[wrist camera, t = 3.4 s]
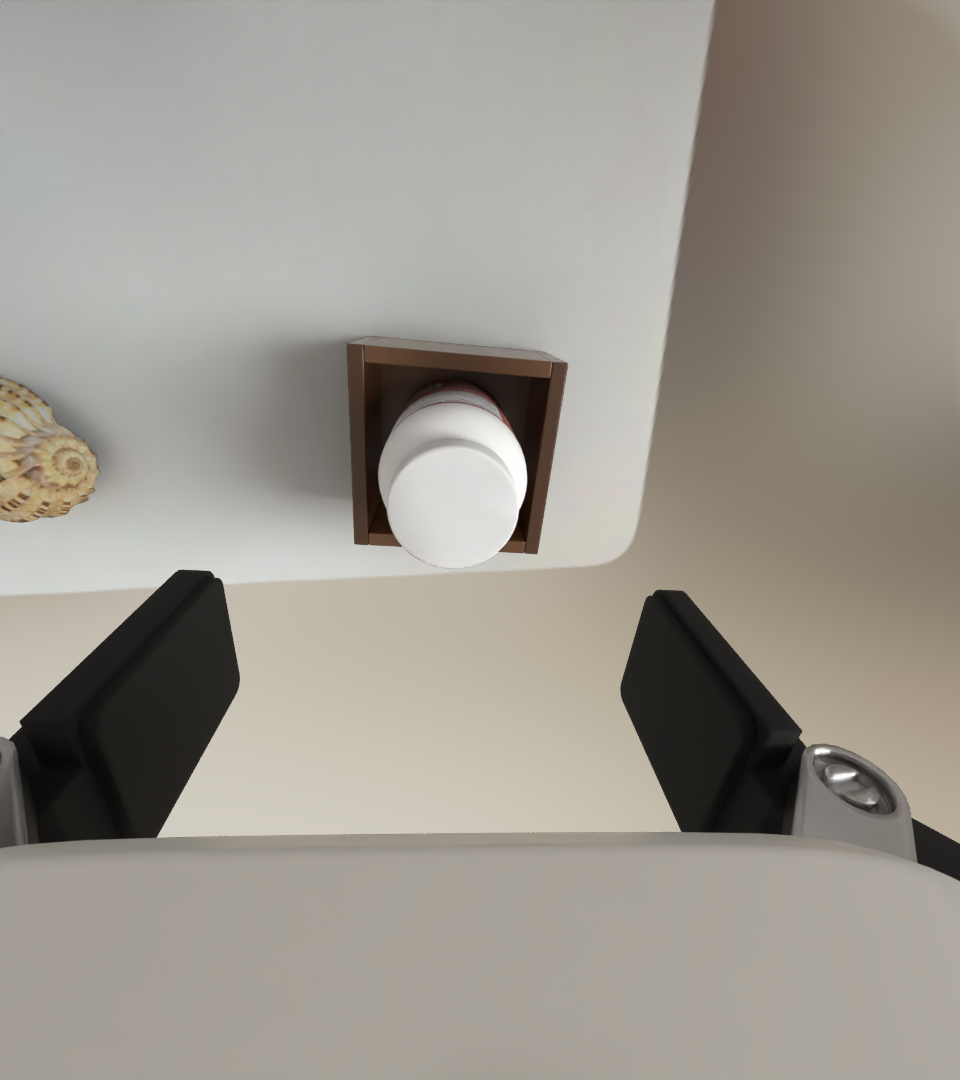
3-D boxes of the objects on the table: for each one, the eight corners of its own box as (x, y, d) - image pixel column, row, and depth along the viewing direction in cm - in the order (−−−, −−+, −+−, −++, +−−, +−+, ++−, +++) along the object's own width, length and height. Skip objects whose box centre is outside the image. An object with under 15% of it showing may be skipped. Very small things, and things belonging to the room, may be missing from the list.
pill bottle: (489, 498, 28) (509, 603, 18) (388, 472, 27) (350, 568, 17) (522, 395, 25) (567, 452, 15) (411, 362, 24) (382, 400, 14)
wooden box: (545, 351, 25) (568, 362, 20) (523, 512, 29) (537, 554, 24) (368, 335, 24) (346, 343, 19) (371, 502, 28) (353, 544, 23)
